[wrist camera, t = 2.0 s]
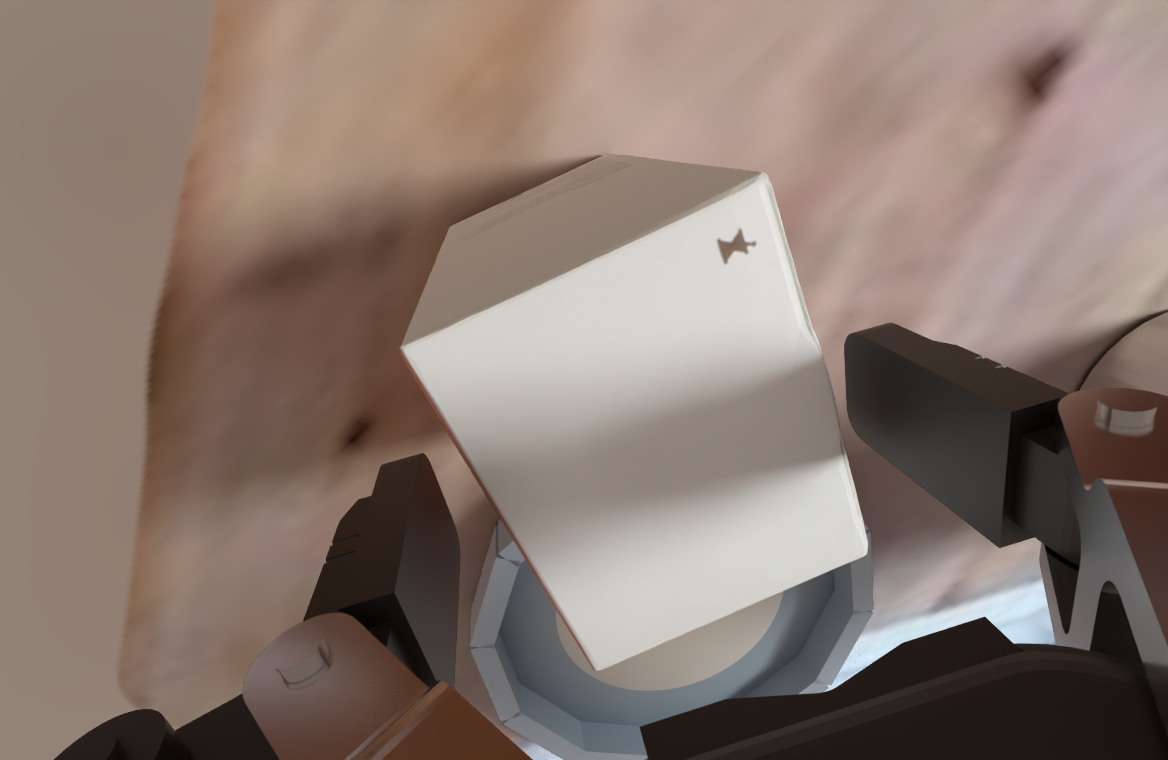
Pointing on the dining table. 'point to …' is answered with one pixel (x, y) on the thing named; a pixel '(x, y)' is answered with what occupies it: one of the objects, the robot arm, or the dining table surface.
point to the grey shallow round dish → (652, 657)
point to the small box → (640, 396)
